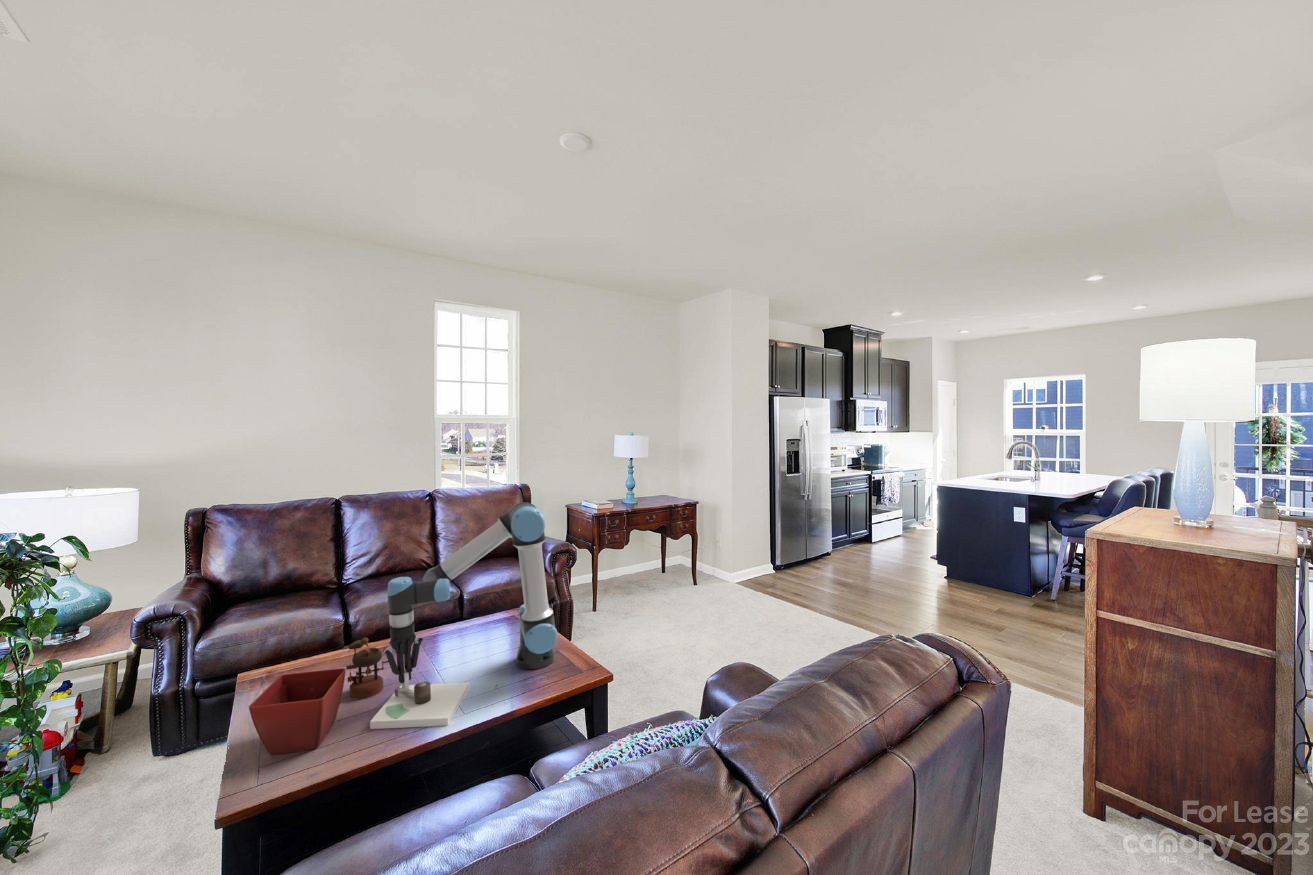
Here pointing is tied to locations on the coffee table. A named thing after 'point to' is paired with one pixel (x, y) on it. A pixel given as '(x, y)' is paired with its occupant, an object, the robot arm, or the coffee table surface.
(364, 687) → the music box
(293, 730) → the plant pot
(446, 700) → the board
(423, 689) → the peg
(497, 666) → the coffee table surface
